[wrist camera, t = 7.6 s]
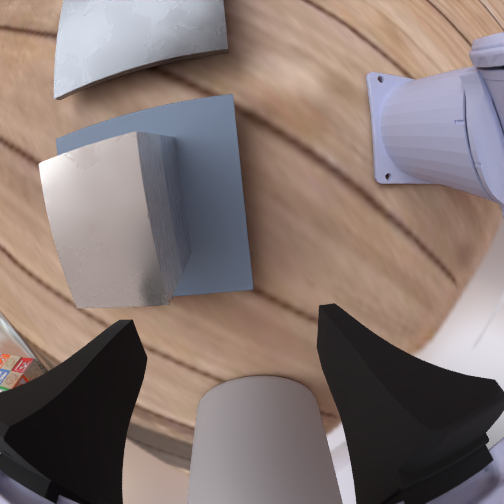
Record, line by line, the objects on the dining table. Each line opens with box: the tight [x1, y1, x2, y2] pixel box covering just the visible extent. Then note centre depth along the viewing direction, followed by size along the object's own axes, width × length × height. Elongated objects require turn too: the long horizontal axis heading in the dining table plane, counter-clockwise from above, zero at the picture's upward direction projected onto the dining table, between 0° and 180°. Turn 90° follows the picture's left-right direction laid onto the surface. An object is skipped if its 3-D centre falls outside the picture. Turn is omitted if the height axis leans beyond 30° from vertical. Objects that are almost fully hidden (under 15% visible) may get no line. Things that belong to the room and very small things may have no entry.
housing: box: [39, 131, 192, 308], centre depth 12 cm, size 5×7×6 cm
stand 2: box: [56, 94, 253, 296], centre depth 16 cm, size 12×12×2 cm
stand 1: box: [54, 0, 229, 100], centre depth 11 cm, size 12×12×2 cm
